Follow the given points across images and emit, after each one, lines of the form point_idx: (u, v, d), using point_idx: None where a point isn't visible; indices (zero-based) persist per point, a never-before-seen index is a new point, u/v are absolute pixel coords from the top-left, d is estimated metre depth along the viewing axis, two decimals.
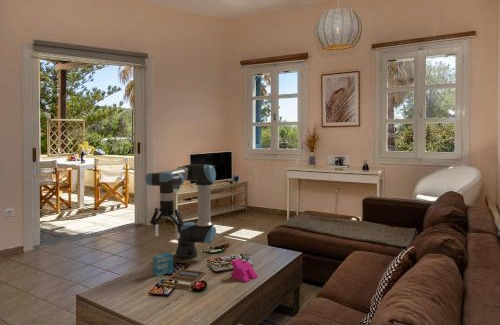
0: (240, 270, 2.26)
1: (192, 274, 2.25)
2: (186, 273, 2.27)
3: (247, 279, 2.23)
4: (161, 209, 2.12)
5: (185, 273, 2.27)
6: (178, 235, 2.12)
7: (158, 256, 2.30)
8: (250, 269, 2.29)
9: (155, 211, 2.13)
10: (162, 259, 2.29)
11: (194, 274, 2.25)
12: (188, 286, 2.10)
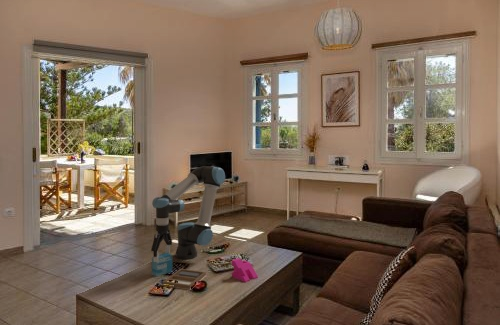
0: (240, 269, 2.27)
1: (192, 274, 2.25)
2: (186, 273, 2.27)
3: (247, 279, 2.23)
4: None
5: (185, 273, 2.27)
6: (155, 259, 2.25)
7: None
8: (250, 269, 2.29)
9: None
10: (161, 259, 2.29)
11: (194, 274, 2.25)
12: (188, 286, 2.10)
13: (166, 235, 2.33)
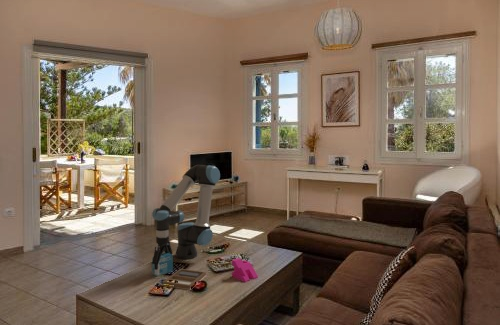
0: (240, 269, 2.27)
1: (192, 274, 2.25)
2: (186, 273, 2.27)
3: (247, 279, 2.23)
4: None
5: (185, 273, 2.27)
6: (156, 271, 2.26)
7: None
8: (250, 269, 2.29)
9: (166, 244, 2.38)
10: (161, 259, 2.29)
11: (194, 274, 2.25)
12: (188, 286, 2.10)
13: (166, 247, 2.33)
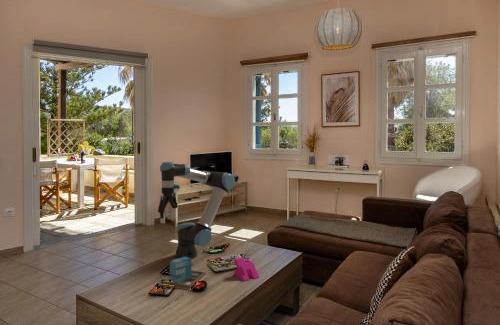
0: (241, 268, 2.29)
1: (192, 274, 2.25)
2: None
3: (246, 278, 2.24)
4: None
5: None
6: (162, 220, 2.30)
7: (176, 260, 2.14)
8: (252, 269, 2.30)
9: None
10: (179, 263, 2.13)
11: (194, 274, 2.25)
12: (188, 286, 2.10)
13: (172, 198, 2.38)
